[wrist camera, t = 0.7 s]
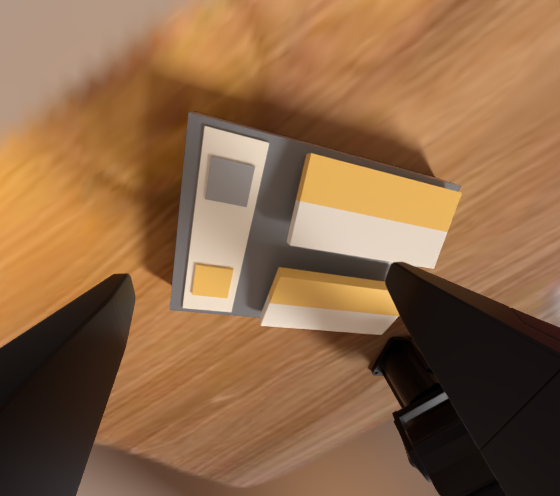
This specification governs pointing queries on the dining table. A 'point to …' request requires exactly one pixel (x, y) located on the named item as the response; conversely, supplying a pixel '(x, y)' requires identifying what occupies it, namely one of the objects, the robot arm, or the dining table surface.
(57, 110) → the dining table surface
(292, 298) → the switch
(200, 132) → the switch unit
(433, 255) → the switch
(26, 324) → the dining table surface
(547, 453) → the robot arm
